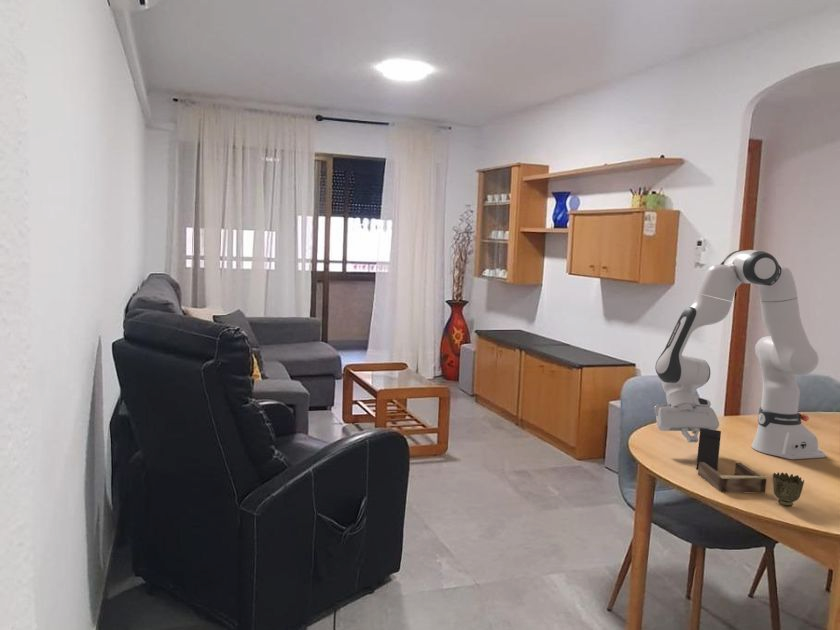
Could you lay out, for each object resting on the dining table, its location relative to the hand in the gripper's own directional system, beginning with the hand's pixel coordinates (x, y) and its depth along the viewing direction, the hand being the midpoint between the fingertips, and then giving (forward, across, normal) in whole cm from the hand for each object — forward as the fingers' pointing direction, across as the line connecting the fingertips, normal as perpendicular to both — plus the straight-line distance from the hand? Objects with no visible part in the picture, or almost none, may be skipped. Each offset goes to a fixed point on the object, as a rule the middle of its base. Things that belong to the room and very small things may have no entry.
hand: (693, 441), depth 216 cm
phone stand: (+11, 0, -3) cm, 11 cm away
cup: (+31, +7, -24) cm, 40 cm away
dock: (+20, 0, -13) cm, 23 cm away
